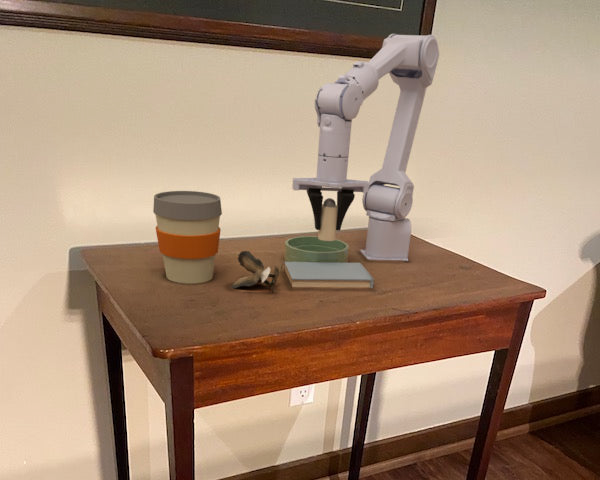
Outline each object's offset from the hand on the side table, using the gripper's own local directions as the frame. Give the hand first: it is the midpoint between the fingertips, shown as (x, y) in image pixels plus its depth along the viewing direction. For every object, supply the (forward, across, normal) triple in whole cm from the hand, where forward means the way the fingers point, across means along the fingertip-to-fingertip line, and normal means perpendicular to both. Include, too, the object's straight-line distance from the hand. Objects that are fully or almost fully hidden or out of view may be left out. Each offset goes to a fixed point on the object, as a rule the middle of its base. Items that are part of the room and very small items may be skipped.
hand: (327, 229), depth 121 cm
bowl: (+9, 0, +10) cm, 14 cm away
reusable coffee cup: (+10, -27, -1) cm, 29 cm away
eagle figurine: (+10, -15, -8) cm, 20 cm away
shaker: (+2, 0, 0) cm, 2 cm away
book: (+10, 0, -3) cm, 10 cm away
